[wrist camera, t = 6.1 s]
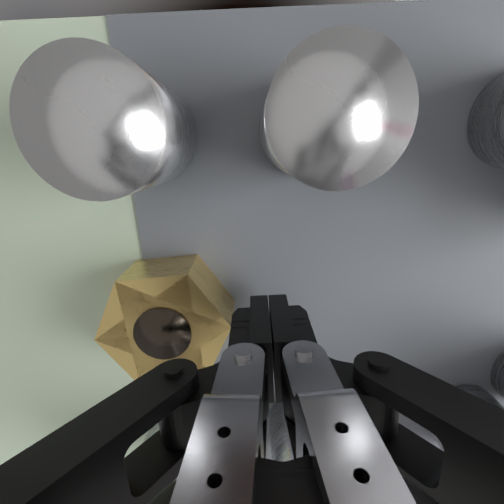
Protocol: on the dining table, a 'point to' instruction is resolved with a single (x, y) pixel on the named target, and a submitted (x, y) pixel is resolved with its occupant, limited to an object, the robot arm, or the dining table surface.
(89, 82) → the spacers
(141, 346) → the nut
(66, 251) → the board
